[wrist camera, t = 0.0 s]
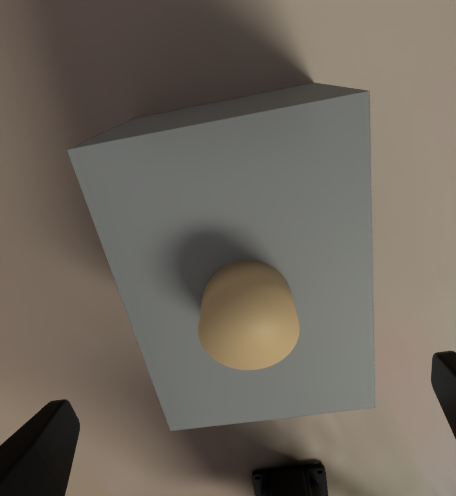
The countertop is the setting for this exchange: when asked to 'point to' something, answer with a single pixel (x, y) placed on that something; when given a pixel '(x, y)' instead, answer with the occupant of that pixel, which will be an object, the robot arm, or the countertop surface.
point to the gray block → (243, 251)
